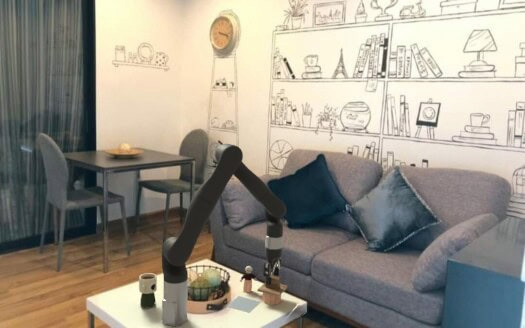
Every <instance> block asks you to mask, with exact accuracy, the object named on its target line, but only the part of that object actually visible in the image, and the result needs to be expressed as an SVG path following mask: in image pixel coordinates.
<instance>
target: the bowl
mask: <svg viewBox="0 0 525 328" xmlns="http://www.w3.org/2000/svg"><path fill="white" fill-rule="evenodd" d="M261 297H262V300H261V301H262V302H263V303H264V304H265V305H266V304H267V305H269V306H270V305H271V306H272V305H278V304H280V303H281V302H282V294H281V295H280V296H275V295H271V294H267V293H263V292H262V296H261Z"/></svg>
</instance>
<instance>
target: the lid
mask: <svg viewBox="0 0 525 328" xmlns="http://www.w3.org/2000/svg"><path fill="white" fill-rule="evenodd" d="M264 280H265V282H264V283H263V284H262V285H261V286H259V287H258V288H257V292H259V293H262V294H263V293H267V294H271V295H275V296H280V295H281V296H282V294H283V293H284V292H285V291H286V290H287V289H289V286H288V285H286V284H282V283H281V282H282V281H281V280H282V277H281V276H280V275H279V276H274V274H272V276H271V285H266V279H264Z"/></svg>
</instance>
